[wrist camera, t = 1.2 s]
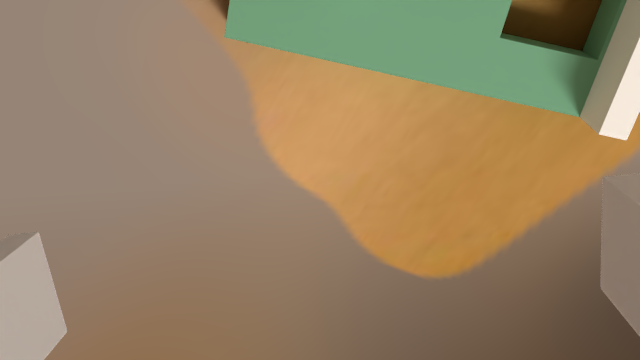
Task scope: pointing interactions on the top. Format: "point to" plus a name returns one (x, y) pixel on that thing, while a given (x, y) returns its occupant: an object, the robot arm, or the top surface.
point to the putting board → (463, 50)
